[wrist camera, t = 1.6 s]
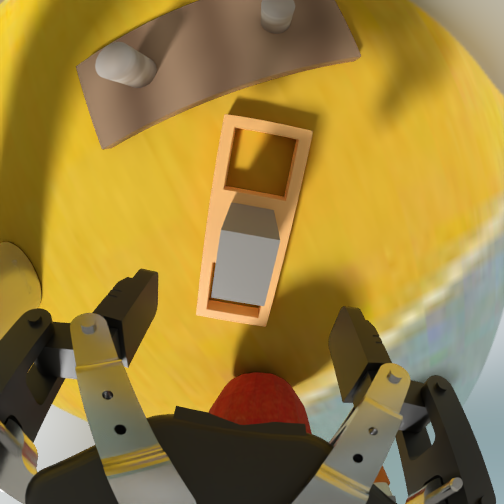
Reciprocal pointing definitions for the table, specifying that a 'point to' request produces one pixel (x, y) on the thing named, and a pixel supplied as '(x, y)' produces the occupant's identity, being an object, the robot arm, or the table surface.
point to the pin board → (206, 58)
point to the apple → (259, 401)
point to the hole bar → (248, 231)
